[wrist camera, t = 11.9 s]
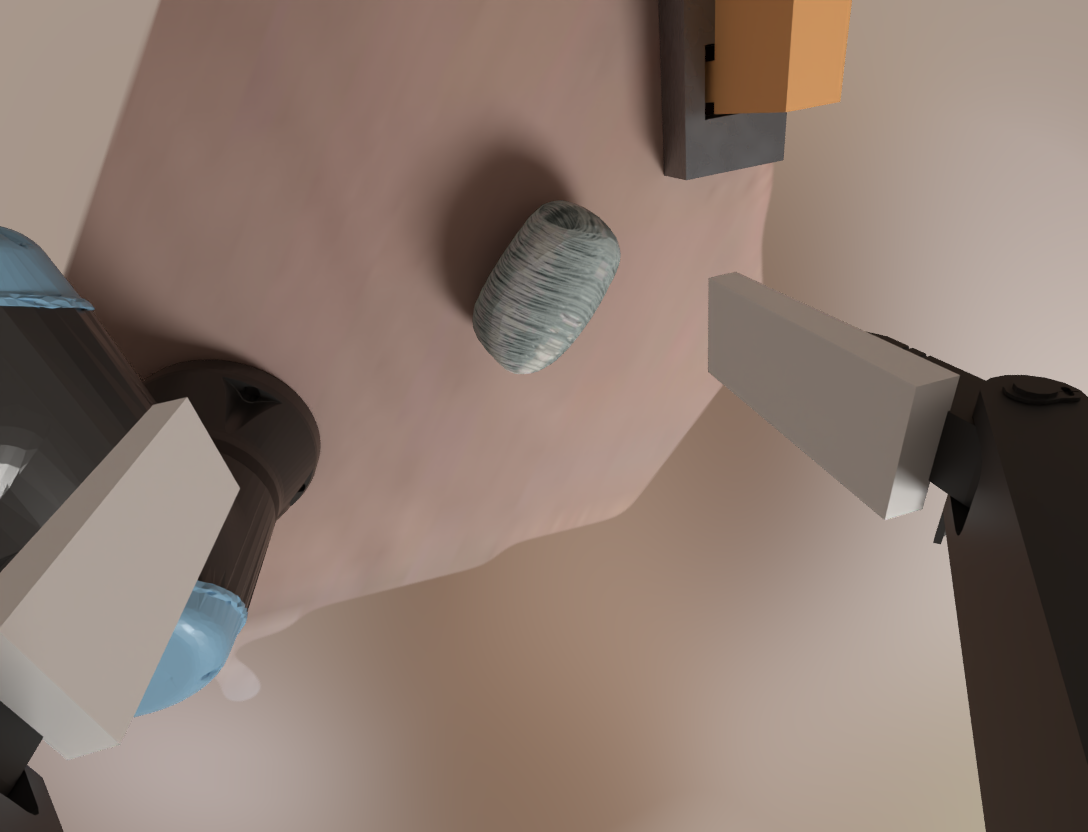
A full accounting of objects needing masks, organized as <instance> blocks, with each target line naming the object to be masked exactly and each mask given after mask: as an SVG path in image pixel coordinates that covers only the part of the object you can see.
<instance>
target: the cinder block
mask: <svg viewBox="0 0 1088 832" xmlns="http://www.w3.org/2000/svg"><path fill="white" fill-rule="evenodd" d="M658 2H659V31H660V60H661V89H662V118H663V147H664V176H669V177H674V178H679V179H683V180H689V179H694V178H699V177H704V176H709V175H713V174H718V173H723V172H728V171H733V170H738V169H743V168H748V167H752V166H757V165H762V164H767V163H772V162H777V161H781V160H783V158H784V144H785V129H786V115H787V112H777V113H738V114H711V115H706V116H705V47H708V46H714V45H715V0H658Z"/></svg>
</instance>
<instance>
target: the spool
mask: <svg viewBox="0 0 1088 832" xmlns="http://www.w3.org/2000/svg"><path fill="white" fill-rule="evenodd" d="M619 262H620V248H619V245H618V241H617V238H616V237H615V235H614V234H613V232H612V231H611V230H610V228H609V227H608V226H607V225H606V224H605V223H604V222H603V221H602V220H601V219H600V218H599V217H598V216H596V215H595V214H593V213H592V212H590V211H589V210H587V209H586V208H584V207H581V206H579V205H577V204H574V203H572V202H567V201H562V200H559V201H553V202H549V203H546V204H543V205H542V206H541V207H540V208H539V209H537V210H536V211H535V212H534V213H533V214H532V215H531V216H530V217H529V218H528V219H527V221H526V222H525V224H524V225H523V226H522V228H521V229H520V230H519V231H518V233H517V234H516V235H515V237H514V238H513V240H512V241H511V243H510V244H509V246H508V247H507V248H506V250H505V251H504V253H503V254H502V256H501V257H500V259H499V261H498V262H497V264H496V266H495V267H494V269H493V270H492V272H491V274H490V275H489V277H488V279H487V281H486V283H485V285H484V286H483V288H482V290H481V292H480V295H479V297H478V299H477V301H476V303H475V306H474V312H473V328H474V331H475V333H476V335H477V338H478V340H479V341H480V342H481V343H482V345H483V346H484V348H485V349H486V350H487V351H488V353H489V354H491V355H492V356H493V357H494V359H495V360H496V361H497V362H498V363H499V364H500V365H501V366H502V367H504V368H505V369H506V370H508V371H510V372H512V373H515V374H530V373H533V372H537V371H539V370H542V369H543V368H545V367H547V366H548V365H550V364H552V363H553V362H554V361H556V360H557V359H558V358H559V357H560V356H561V355H562V354H563V353H564V352H565V351H566V350H567V349H568V348H569V347H570V346H571V344H572V343H573V342H574V341H575V339H576V338H577V337H578V336H579V334H580V333H581V332H582V330H583V329H584V328H585V326H586V325H587V323H588V322H589V320H590V319H591V317H592V316H593V314H594V313H595V311H596V309H597V308H598V306H599V304H600V303H601V301H602V299H603V297H604V295H605V294H606V292H607V289H608V287H609V285H610V284H611V282H612V280H613V278H614V276H615V274H616V271H617V268H618V266H619Z"/></svg>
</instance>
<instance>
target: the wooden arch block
mask: <svg viewBox="0 0 1088 832" xmlns="http://www.w3.org/2000/svg"><path fill="white" fill-rule="evenodd" d="M851 3H852V0H715V60H714V61H709V62H705V103H709V102H714V114H738V113H777V112H790V111H795V110H800V109H805V108H810V107H815V106H820V105H826V104H831V103H836V102H840V98H841V90H842V81H843V73H844V64H845V55H846V47H847V38H848V29H849V20H850V11H851Z"/></svg>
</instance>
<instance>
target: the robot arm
mask: <svg viewBox="0 0 1088 832" xmlns="http://www.w3.org/2000/svg"><path fill="white" fill-rule="evenodd" d="M94 309H95V308H94V307H93V305H92V304H91V303H90V302H89V301H87V300H85V299H83V298H81V297H80V296H79V294H78V293H77V292H76V291H75V290H74V288H73V287H72V286H71V285H70V283H69V282H68V281H67V280H66V278H65V277H64V276H63V275H62V273H61V272H60V271H59V270H58V268H57V267H56V266H55V265H54V263H53V262H52V261H51V259H50V258H49V257H48V256H47V254H46V253H45V252H44V251H43V250H42V249H41V247H40V246H38V245H37V244H36V243H35V242H34V241H32V240H31V239H29V238H28V237H26V236H24V235H23V234H21V233H19V232H16V231H14V230H11V229H8V228H5V227H1V226H0V832H63V829H62V826H61V824H60V821H59V819H58V816H57V814H56V811H55V809H54V806H53V803H52V801H51V798H50V796H49V793H48V790H47V788H46V786H45V783H44V780H43V778H42V777H41V776H40V775H38V774H37V773H36V772H35V771H34V770H33V769H31V768H30V767H29V766H27V764H28V762H29V760H30V759H31V757H32V755H33V754H34V752H35V750H36V748H37V747H38V745H39V743H40V742H41V740H44V741H45V742H46V743H47V744H48V745H50V746H51V747H52V748H53V749H55V750H56V751H57V752H58V753H59V754H60V755H62V756H63V757H64V758H65V759H66V760H70V759H74V758H77V757H81V756H84V755H87V754H91V753H94V752H98V751H101V750H105V749H108V748H111V747H115V746H118V745H121V743H122V740H123V738H124V736H125V734H126V732H127V730H128V728H129V726H130V723H131V721H132V719H133V717H137V716H141V715H144V714H148V713H152V712H155V711H159V710H162V709H164V708H167V707H169V706H172V705H174V704H177V703H179V702H181V701H183V700H185V699H186V698H188V697H190V696H192V695H193V694H195V693H196V692H198V691H199V690H201V689H202V688H203V687H205V686H206V685H207V684H208V683H209V682H210V681H211V680H212V679H213V678H214V677H215V676H216V675H217V674H218V673H219V671H220V670H221V668H222V667H223V666H224V664H225V662H226V660H227V658H228V656H229V653H230V651H231V649H232V646H233V644H234V641H235V639H236V637H237V634H239V632H240V631H241V629H242V628H243V626H244V625H245V623H246V620H247V615H248V612H247V611H248V608H249V605H250V602H251V599H252V595H253V592H254V589H255V586H256V583H257V579H258V576H259V573H260V570H261V567H262V564H263V560H264V557H265V554H266V551H267V548H268V544H269V541H270V538H271V535H272V532H273V528H274V526H275V523H276V521H277V520H278V519H279V518H280V517H281V516H282V515H283V514H284V513H285V512H286V511H287V510H288V509H289V508H290V506H292V505H293V504H294V503H295V502H296V501H297V500H298V499H299V498H300V497H301V496H302V495H303V493H304V492H305V491H306V489H307V488H308V486H309V484H310V483H311V481H312V479H313V476H314V474H315V470H316V467H317V463H318V459H319V455H320V435H319V430H318V427H317V424H316V421H315V419H314V417H313V415H312V413H311V411H310V410H309V408H308V407H307V405H306V404H305V403H304V402H303V400H302V399H301V398H300V397H299V396H298V395H297V394H296V393H295V392H294V391H293V390H292V389H291V388H289V387H288V386H287V385H285V384H284V383H283V382H281V381H280V380H278V379H276V378H275V377H273V376H271V375H269V374H267V373H265V372H263V371H261V370H258V369H256V368H253V367H250V366H247V365H244V364H240V363H235V362H230V361H223V360H195V361H188V362H182V363H179V364H175V365H172V366H169V367H167V368H164V369H162V370H160V371H158V372H156V373H154V374H153V375H151V376H150V377H148V378H147V379H146V380H144V381H143V382H142V381H141V380H140V378H139V377H138V375H137V374H136V373H135V371H134V370H133V368H132V367H131V365H130V364H129V363H128V361H127V360H126V358H125V357H124V356H123V354H122V353H121V351H120V350H119V348H118V347H117V346H116V344H115V343H114V341H113V340H112V338H111V337H110V336H109V334H108V333H107V331H106V330H105V328H104V327H103V326H102V324H101V323H100V321H99V320H98V319H97V317H96V316H95V314H94V313H93V311H92V310H94ZM708 372H709V373H710V374H711V375H713V376H714V377H715V378H716V379H717V380H719V381H720V382H721V383H722V384H723V385H724V386H726V387H727V388H728V389H729V390H730V391H732V392H733V393H734V394H735V395H736V396H738V397H739V398H740V399H741V400H742V401H743V402H745V403H746V404H747V405H748V406H749V407H751V408H752V409H753V410H754V411H756V412H757V413H758V414H759V415H760V416H761V417H763V418H764V419H765V420H766V421H767V422H769V423H770V424H771V425H772V426H773V427H775V428H776V429H777V430H778V431H779V432H780V433H782V434H783V435H784V436H785V437H786V438H788V439H789V440H790V441H791V442H793V444H795V445H796V446H797V447H798V448H800V449H801V450H802V451H803V452H804V453H805V454H807V455H808V456H809V457H810V458H811V459H813V460H814V461H815V462H816V463H817V464H819V465H820V466H821V467H822V468H824V470H826V471H827V472H828V473H829V474H830V475H832V476H833V477H834V478H835V479H836V480H838V481H839V482H840V483H841V484H842V485H844V486H845V487H846V488H847V489H848V490H850V491H851V492H852V493H853V494H854V495H855V496H857V497H858V498H859V499H860V500H861V501H862V502H864V503H865V504H866V505H867V506H868V507H870V508H871V509H872V510H873V511H874V512H876V513H877V514H878V515H879V516H881V517H882V518H883V519H884V520H887V519H891V518H894V517H897V516H900V515H904V514H908V513H911V512H914V511H918V510H921V509H923V505H924V501H925V498H926V494H927V491H928V487H929V484H930V482H932V483H933V484H934V485H936V486H937V487H939V488H940V489H942V490H943V491H945V492H946V493H947V494H948V496H947V499H946V502H945V505H944V509H943V512H942V515H941V518H940V522H939V525H938V528H937V531H936V534H935V538H934V543H937V544H941V542H942V539H943V536H945V535H946V537H947V544H948V552H949V559H950V566H951V574H952V582H953V589H954V597H955V604H956V611H957V619H958V627H959V634H960V641H961V648H962V656H963V664H964V671H965V679H966V686H967V694H968V701H969V708H970V716H971V724H972V730H973V738H974V746H975V753H976V760H977V768H978V775H979V783H980V791H981V798H982V805H983V813H984V821H985V828H986V832H1088V397H1087V396H1086V395H1085V394H1084V393H1083V392H1082V391H1080V390H1079V389H1076V388H1074V387H1072V386H1070V385H1068V384H1066V383H1063V382H1059V381H1055V380H1052V379H1048V378H1042V377H1035V376H1028V375H1004V376H999V377H994V378H990V379H989V380H987V381H985V380H983V379H981V378H979V377H976V376H974V375H972V374H970V373H967V372H965V371H963V370H961V369H959V368H956V367H954V366H952V365H950V364H947V363H945V362H943V361H941V360H938V359H936V358H934V357H932V356H928V357H927V356H926V354H925V353H923V352H921V351H918V350H916V349H914V348H910V349H909V346H907V345H905V344H903V343H901V342H899V341H896V340H894V339H892V338H890V337H888V336H883V335H879V334H874V333H870V332H865V331H863V330H861V329H859V328H857V327H854V326H852V325H850V324H848V323H846V322H844V321H841V320H839V319H837V318H835V317H833V316H830V315H828V314H826V313H824V312H822V311H820V310H817V309H815V308H813V307H811V306H809V305H807V304H805V303H802V302H800V301H798V300H796V299H794V298H791V297H789V296H787V295H785V294H783V293H781V292H778V291H776V290H774V289H772V288H769V287H767V286H765V285H763V284H761V283H759V282H757V281H755V280H752V279H750V278H748V277H746V276H744V275H742V274H739V273H737V272H733V273H728V274H724V275H719V276H715V277H711V278H709V302H708Z"/></svg>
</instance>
